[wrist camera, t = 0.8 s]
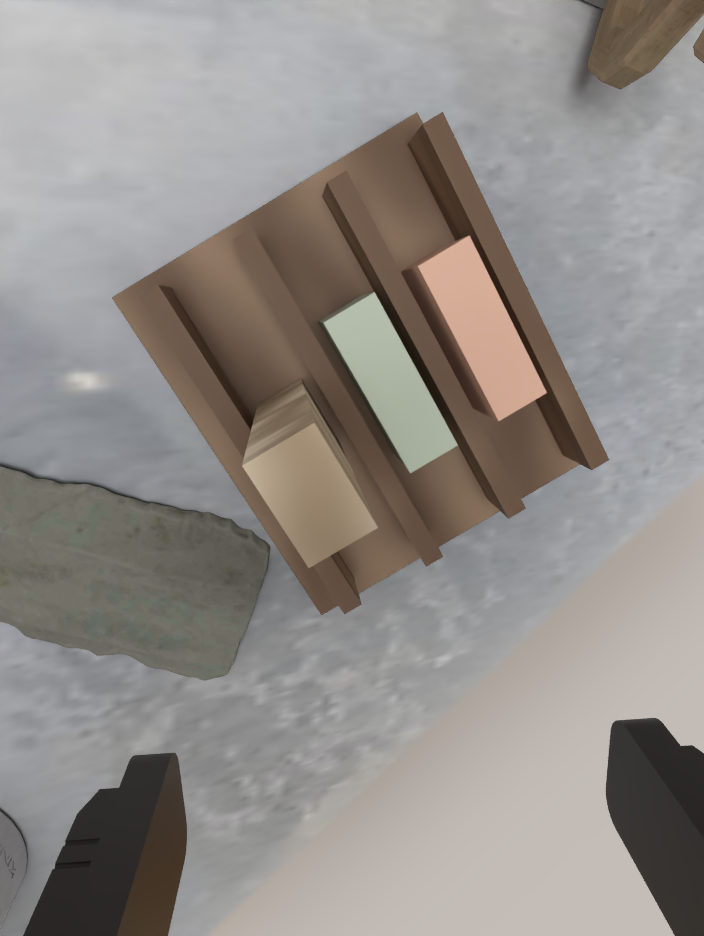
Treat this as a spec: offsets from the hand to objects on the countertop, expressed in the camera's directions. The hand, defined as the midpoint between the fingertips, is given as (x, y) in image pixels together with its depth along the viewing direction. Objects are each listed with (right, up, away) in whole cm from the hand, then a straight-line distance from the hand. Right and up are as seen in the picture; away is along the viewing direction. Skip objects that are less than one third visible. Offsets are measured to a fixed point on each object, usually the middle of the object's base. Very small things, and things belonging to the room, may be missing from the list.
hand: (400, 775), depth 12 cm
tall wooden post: (-4, +8, +22) cm, 24 cm away
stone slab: (-17, +1, +25) cm, 30 cm away
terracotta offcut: (+5, +13, +22) cm, 26 cm away
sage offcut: (+1, +10, +22) cm, 24 cm away
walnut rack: (0, +10, +23) cm, 26 cm away
